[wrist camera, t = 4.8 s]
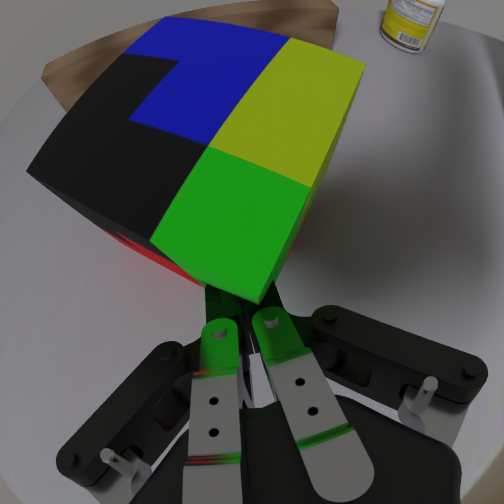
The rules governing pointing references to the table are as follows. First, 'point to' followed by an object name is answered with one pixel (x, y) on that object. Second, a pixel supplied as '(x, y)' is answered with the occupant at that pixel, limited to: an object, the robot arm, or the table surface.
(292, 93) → the puzzle toy
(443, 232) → the table surface
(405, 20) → the supplement bottle
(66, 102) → the board
